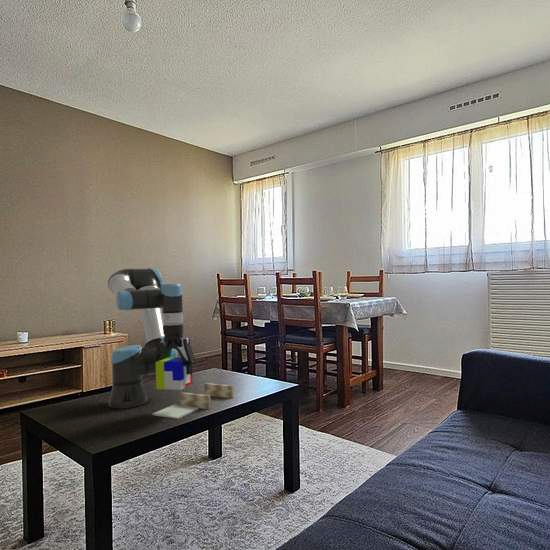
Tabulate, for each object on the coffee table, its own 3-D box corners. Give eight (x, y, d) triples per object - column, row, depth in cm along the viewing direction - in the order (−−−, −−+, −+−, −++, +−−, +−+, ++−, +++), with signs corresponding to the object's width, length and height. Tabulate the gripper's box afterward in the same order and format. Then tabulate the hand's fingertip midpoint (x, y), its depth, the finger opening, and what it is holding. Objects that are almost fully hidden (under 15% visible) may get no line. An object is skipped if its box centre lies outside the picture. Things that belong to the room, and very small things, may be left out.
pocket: (180, 405, 166) (180, 393, 166) (206, 394, 181) (206, 382, 181) (208, 409, 159) (208, 396, 160) (233, 397, 175) (233, 385, 175)
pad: (152, 415, 155) (152, 413, 155) (174, 406, 166) (174, 404, 166) (177, 418, 149) (177, 417, 149) (198, 409, 160) (198, 407, 160)
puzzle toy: (181, 389, 152) (180, 362, 152) (156, 389, 154) (155, 362, 154) (192, 383, 161) (191, 357, 161) (168, 382, 163) (168, 357, 164)
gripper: (142, 324, 160) (144, 381, 160) (191, 325, 149) (193, 386, 149) (156, 322, 167) (158, 377, 166) (204, 323, 156) (206, 381, 156)
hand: (174, 381), depth 158 cm, fingers closed on puzzle toy, 11 cm apart
